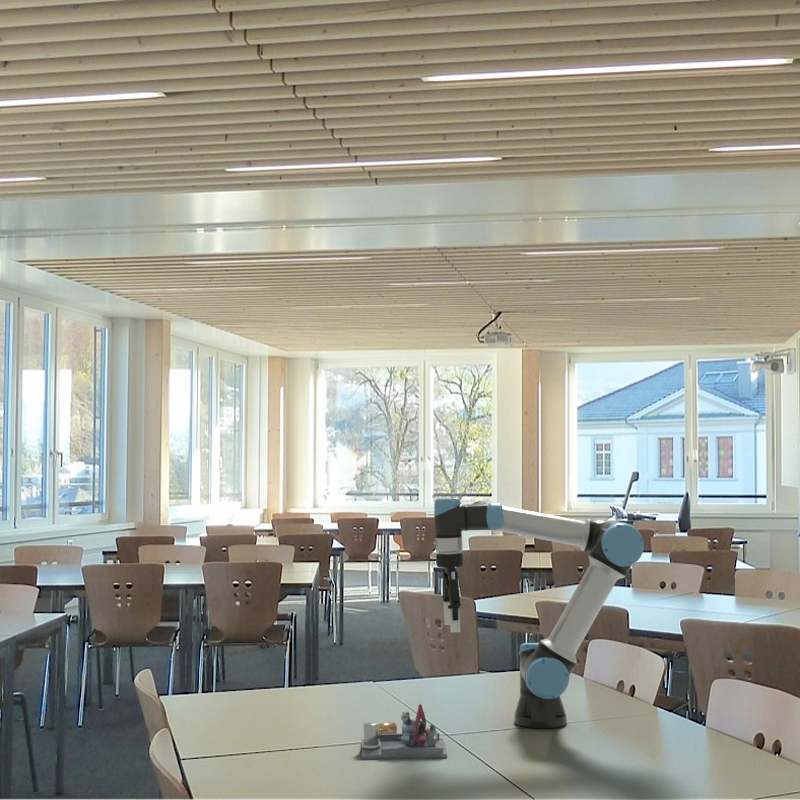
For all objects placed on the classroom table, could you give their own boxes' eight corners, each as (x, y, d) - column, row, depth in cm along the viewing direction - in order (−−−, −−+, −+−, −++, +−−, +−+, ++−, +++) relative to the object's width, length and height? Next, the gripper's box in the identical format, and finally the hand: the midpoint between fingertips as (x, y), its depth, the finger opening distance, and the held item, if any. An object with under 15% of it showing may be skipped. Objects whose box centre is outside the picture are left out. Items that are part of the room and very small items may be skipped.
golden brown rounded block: (389, 731, 306) (391, 719, 305) (396, 737, 303) (397, 725, 302) (371, 734, 303) (372, 722, 302) (377, 740, 300) (379, 728, 299)
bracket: (442, 741, 295) (442, 715, 295) (447, 757, 279) (446, 730, 280) (361, 743, 294) (361, 717, 295) (361, 759, 278) (361, 731, 279)
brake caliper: (440, 743, 280) (412, 704, 282) (407, 767, 282) (380, 728, 284) (449, 733, 291) (423, 695, 293) (418, 756, 293) (392, 719, 295)
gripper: (431, 549, 318) (434, 622, 317) (441, 556, 293) (444, 636, 292) (456, 548, 319) (459, 621, 317) (468, 555, 294) (472, 634, 293)
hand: (452, 628), depth 305 cm, fingers open, 13 cm apart
